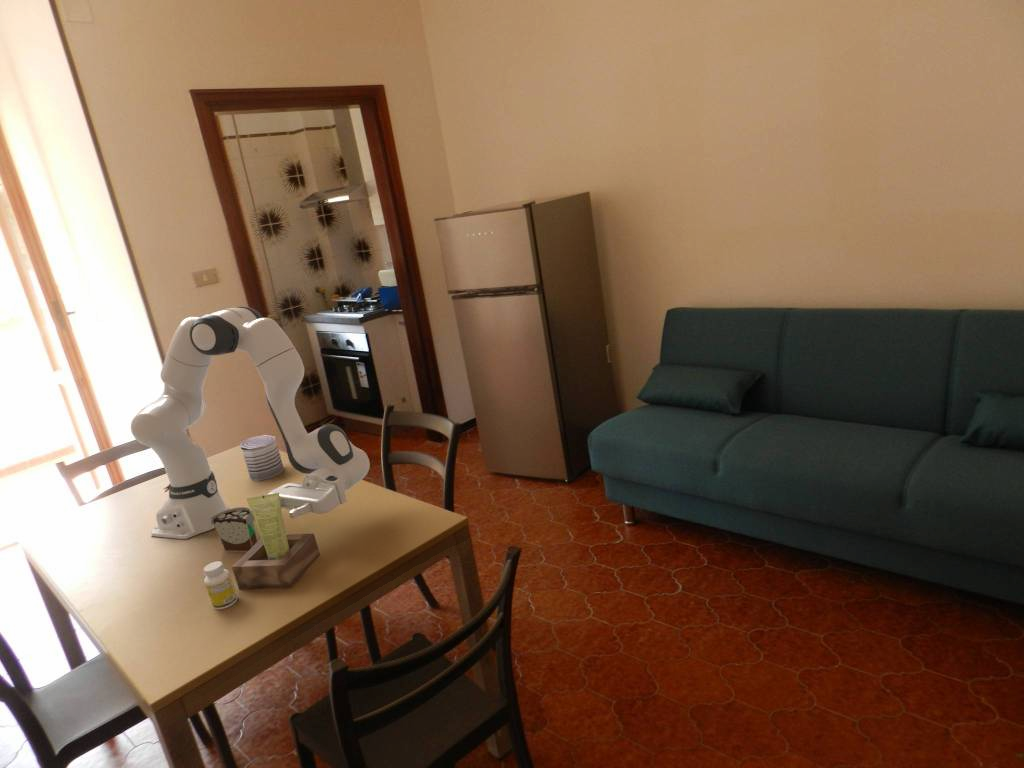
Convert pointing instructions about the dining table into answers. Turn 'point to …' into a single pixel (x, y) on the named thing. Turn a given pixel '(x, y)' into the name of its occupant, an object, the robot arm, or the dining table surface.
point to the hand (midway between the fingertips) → (278, 513)
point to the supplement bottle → (219, 586)
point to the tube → (270, 524)
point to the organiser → (276, 564)
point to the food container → (235, 529)
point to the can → (262, 457)
